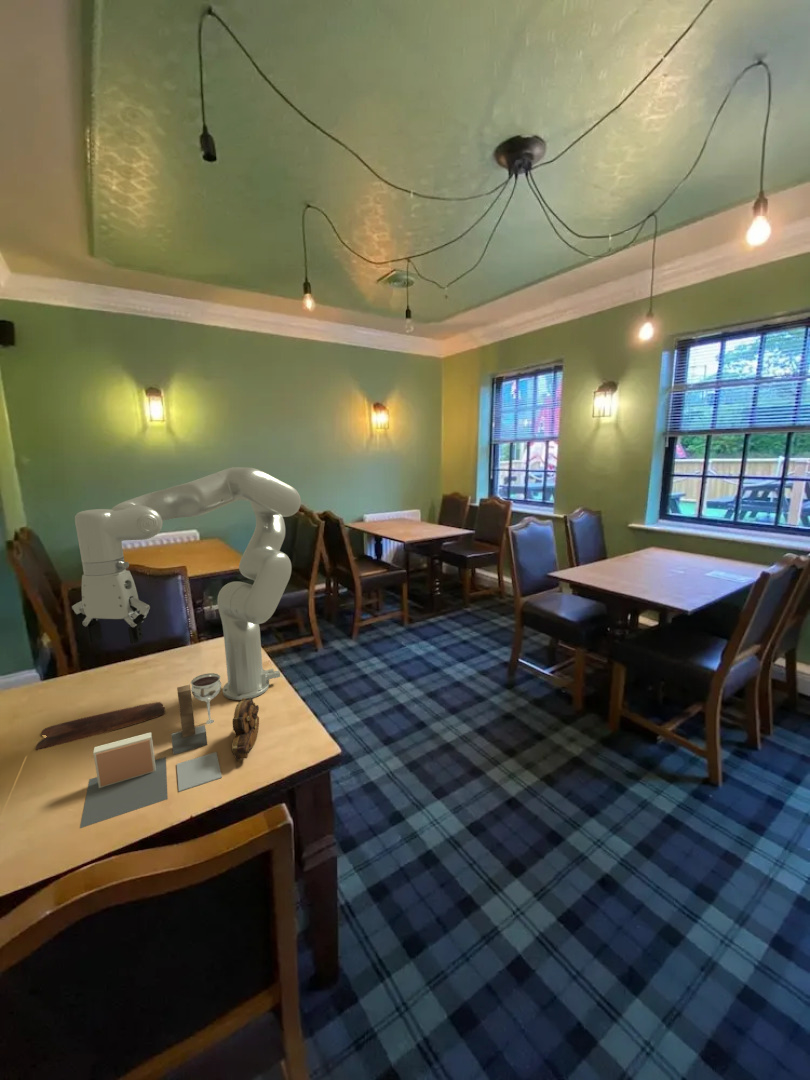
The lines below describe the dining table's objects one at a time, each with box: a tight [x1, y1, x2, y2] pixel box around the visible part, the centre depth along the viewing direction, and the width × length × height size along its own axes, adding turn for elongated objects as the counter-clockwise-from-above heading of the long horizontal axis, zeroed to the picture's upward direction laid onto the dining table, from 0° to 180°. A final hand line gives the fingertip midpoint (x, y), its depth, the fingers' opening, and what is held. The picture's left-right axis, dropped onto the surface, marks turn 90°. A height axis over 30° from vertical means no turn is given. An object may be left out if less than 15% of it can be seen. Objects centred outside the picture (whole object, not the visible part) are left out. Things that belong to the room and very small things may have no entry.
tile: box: [92, 732, 156, 788], centre depth 92 cm, size 10×2×8 cm, turn 119°
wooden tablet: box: [35, 701, 166, 751], centre depth 112 cm, size 26×2×10 cm
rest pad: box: [176, 751, 223, 793], centre depth 95 cm, size 8×9×1 cm
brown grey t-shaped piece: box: [170, 684, 208, 756], centre depth 101 cm, size 7×3×15 cm, turn 119°
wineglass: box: [190, 672, 222, 725], centre depth 111 cm, size 7×7×12 cm
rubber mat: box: [79, 756, 169, 829], centre depth 90 cm, size 14×14×1 cm
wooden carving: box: [231, 697, 260, 761], centre depth 103 cm, size 16×5×10 cm, turn 12°
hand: (116, 641), depth 100 cm, fingers open, 9 cm apart
